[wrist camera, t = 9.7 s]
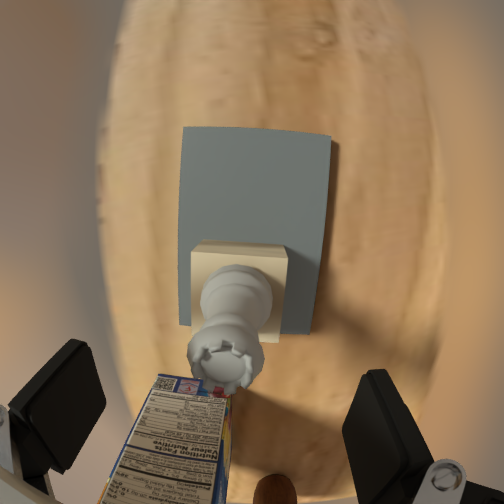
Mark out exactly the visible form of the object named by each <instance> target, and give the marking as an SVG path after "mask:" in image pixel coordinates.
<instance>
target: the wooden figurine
mask: <svg viewBox="0 0 504 504" xmlns="http://www.w3.org/2000/svg"><path fill="white" fill-rule="evenodd" d="M253 504H297V495H296V491H295V488H294V486H293V484H292V482H291V481H290V479H288V478H286V477H285V476H281V475H271V476H267V477H264V478H262V479H261V480H260V481H259V482H258V484H257V486H256V489H255V492H254V497H253Z"/></svg>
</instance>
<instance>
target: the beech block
mask: <svg viewBox="0 0 504 504" xmlns="http://www.w3.org/2000/svg"><path fill="white" fill-rule="evenodd" d="M233 264H239V265H244V266H249V267H252V268H253V269H255V270H256V271H258V272H260V273H261V274H263V276H264V277H265V279H266V280H267V281H268V283H269V284H270V286H271V291H272V296H273V301H272V309H271V313H270V317H269V318H268V320H267V321H266V322H265V324H264V325H263V326H262V327H261V329H259V330H258V331H257V332H258V336H259V342H271V343H279V336H280V328H281V319H282V311H283V302H284V293H285V284H286V275H287V265H288V257H287V254H286V251H285V248H284V246H283V245H280V244H266V243H251V242H237V241H222V240H207V239H203V240H202V241H201V242H200V243H199V244H198V245H197V246H196V247H195V248H194V249H193V250H192V251H191V326H192V336H194V335H195V333H197V332H199V331H200V328H201V327H202V325H203V324H204V322H205V321H206V320H205V319H204V316H203V313H202V309H201V306H200V300H201V293H202V290H203V285H204V284H205V282H206V280H207V279H208V277H209V276H210V274H211V273H213V272H215V271H216V270H218V269H219V268H221V267H222V266H228V265H233Z"/></svg>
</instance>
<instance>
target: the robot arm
mask: <svg viewBox="0 0 504 504" xmlns="http://www.w3.org/2000/svg"><path fill="white" fill-rule="evenodd" d="M8 406H9V407H10V410H9V411H7V409H6V408H5V407H4V406H3V405H0V504H63V503H61V502H59V501H57V500H55V496H54V493H53V490H52V486H51V483H50V479H49V475H48V470H49V469H50V468H51V469H53V470H55V471H56V472H59V473H60V474H62V475H63V474H64V472H65V470H68V469H70V467H71V466H72V464H73V462H74V461H75V459H76V457H77V455H78V453H79V452H80V450H81V448H82V446H83V445H84V443H85V441H86V439H87V438H88V436H89V434H90V433H91V431H92V429H93V427H94V426H95V424H96V422H97V421H98V419H99V417H100V416H101V414H102V412H103V411H104V409H105V406H106V398H105V395H104V392H103V389H102V386H101V383H100V379H99V376H98V373H97V369H96V366H95V362H94V359H93V355H92V351H91V349H90V347H88V345H87V343H86V342H84V341H79V340H76V339H70V340H69V341H68V342H67V343H66V344H65V345H64V346H63V347H62V348H61V349H60V350H59V351H58V352H57V353H56V354H55V355H54V356H53V357H52V358H51V359H50V360H49V361H48V362H47V363H46V364H45V365H44V366H43V367H42V368H41V369H40V370H39V371H38V372H37V373H36V374H35V375H34V377H32V379H31V380H30V381H29V382H28V383H27V384H26V385H25V386H24V387H23V388H22V389H21V390H20V391H19V393H18V394H17V395H16V396H15V397H14V398H13V399H12V401H10V403H9V404H8ZM342 434H343V438H344V442H345V446H346V451H347V455H348V459H349V463H350V467H351V471H352V476H353V480H354V484H355V489H356V493H357V498H358V502H359V504H504V493H503V492H501V491H499V490H495V489H492V488H488V487H485V486H482V485H479V484H476V483H473V482H470V481H467V480H466V472H465V470H464V468H463V467H462V466H461V465H460V464H459V463H458V462H456V461H454V460H451V459H441V460H438V461H436V462H434V460H433V457H432V455H431V453H430V451H429V449H428V447H427V445H426V443H425V441H424V438H423V436H422V434H421V432H420V430H419V428H418V426H417V424H416V422H415V420H414V418H413V416H412V415H411V413H410V411H409V409H408V407H407V406H406V404H404V402H403V400H402V398H401V396H400V394H399V392H398V391H397V389H396V387H395V385H394V383H393V381H392V379H391V378H390V376H389V374H388V372H387V371H386V369H374V370H368V372H367V373H366V374H363V375H362V377H361V380H360V383H359V385H358V388H357V391H356V394H355V396H354V399H353V401H352V404H351V406H350V409H349V411H348V414H347V416H346V419H345V421H344V423H343V427H342Z"/></svg>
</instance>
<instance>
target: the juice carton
mask: <svg viewBox="0 0 504 504" xmlns="http://www.w3.org/2000/svg"><path fill="white" fill-rule="evenodd" d="M203 382H204V380H202V379H194V378H187V377H179V376H172V375H166V374H158V376H157V378H156V380H155V382H154V384H153V386H152V388H151V390H150V392H149V394H148V396H147V398H146V400H145V402H144V404H143V406H142V408H141V410H140V413H139V415H138V417H137V419H136V421H135V423H134V425H133V427H132V429H131V431H130V434H129V435H128V438H127V440H126V442H125V444H124V446H123V448H122V450H121V452H120V455H119V457H118V459H117V461H116V463H115V465H114V468H113V470H112V472H111V474H110V476H109V478H108V481H107V483H106V485H105V487H104V490H103V492H102V494H101V497H100V499H99V501H98V503H97V504H226V496H227V487H228V478H229V469H230V460H231V450H232V394H230V395H224V388H222V387H217V386H215V388H214V390H213V392H210V391H208V390H206V389H204V388H202V385H203Z"/></svg>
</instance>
